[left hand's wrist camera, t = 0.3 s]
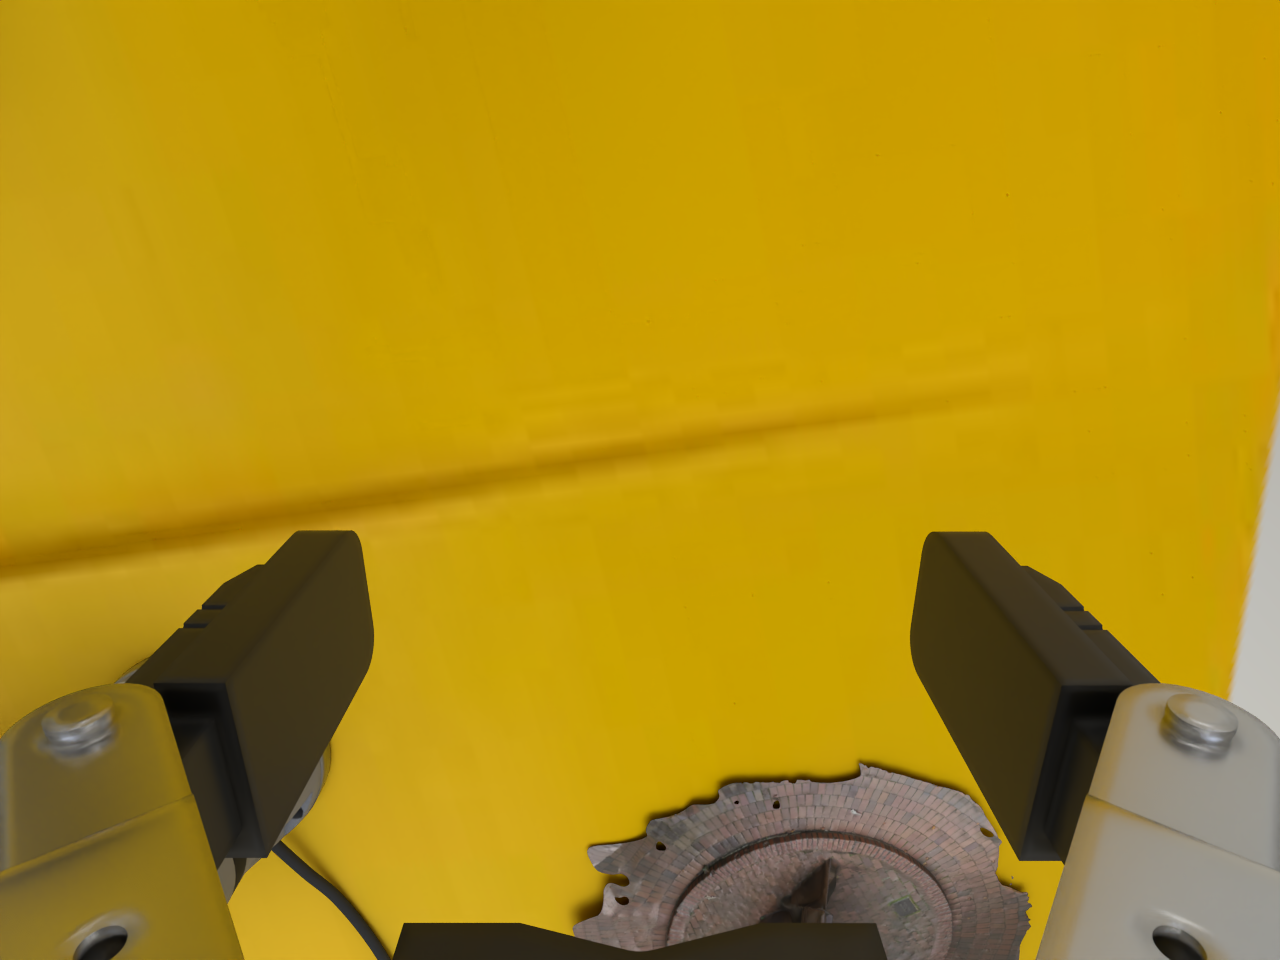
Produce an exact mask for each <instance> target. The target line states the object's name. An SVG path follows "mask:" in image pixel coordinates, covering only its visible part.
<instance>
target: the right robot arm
mask: <svg viewBox="0 0 1280 960" xmlns="http://www.w3.org/2000/svg"><path fill="white" fill-rule="evenodd" d="M148 659H149V658H147V659H145V660H143V661H141V662H139V663H138V664H136V665H135V666H133V667H132V668H130V669H129V670H128V671H127V672H125V673H124V674H123V675H122V676H121V677H120V678H119V679H118V680H117V681H116V682H115V683H114V684H117V683H125V682H126V681H127V680H128V679H129V678H130V677H131V676H132V675H133V674H134V673H135V672H136V671H137V670H138V669H139V668H140V667H141V666H142V665H143V664H144V663H145V662H146V661H147V660H148ZM330 761H331V751H330V743H329V744H328V746H327V747H326V749H325V751H324V753H323V755H322V757H321V759H320V760H319V762H318V764H317V766H316V768H315V770H314V772H313V773H312V775H311V777H310V779H309V781H308V783H307V784H306V786H305V788H304V790H303V792H302V794H301V796H300V797H299V799H298V801H297V803H296V805H295V807H294V809H293V810H292V812H291V814H290V816H289V818H288V820H287V822H286V823H285V825H284V827H283V829H282V831H281V833H280V835H279V836H278V838H277V840H276V842H275V844H274V846H273V848H272V849H271V850H272V851H273V852H274V853H275V854H276V855H277V856H278V857H280V858H281V859H282V860H283V861H284V862H285V863H286V864H287V865H289V866H290V867H291V868H292V869H293V870H294V871H295V872H297V873H298V874H299V875H300V876H301V877H302V878H304V879H305V880H306V881H307V882H309V883H310V884H311V885H312V886H314V887H315V888H316V889H318V890H319V891H320V892H322V893H323V894H324V895H325V896H326V897H328V898H329V899H330V900H331V901H332V902H333V903H334V904H335V905H336V906H337V908H338V909H339V910H340V911H341V912H342V913H343V914H344V915H345V916H346V918H347V919H348V920H349V921H350V922H351V924H352V925H353V926H354V927H355V928H356V930H357V931H358V932H359V934H360V935H361V936H362V938H363V939H364V940H365V942H366V943H367V945H368V946H369V948H370V949H371V950H372V952H373V954H374V955H375V957H376V958H377V960H391V959H390V957H389V956H388V954H387V953H386V951H385V949H384V948H383V946H382V945H381V943H380V942H379V940H378V939H377V937H376V936H375V934H374V933H373V932H372V930H371V929H370V927H369V926H368V925H367V923H366V922H365V921H364V919H363V918H362V917H361V916H360V914H359V913H358V912H357V911H356V910H355V908H354V907H353V906H352V905H351V904H350V903H349V901H348V900H347V899H346V898H345V897H344V896H343V895H342V894H341V893H340V892H339V891H338V890H337V889H336V888H335V887H334V886H333V885H332V884H331V883H329V882H328V881H327V880H326V879H324V878H323V877H322V876H320V875H319V874H318V873H317V872H315V871H314V870H313V869H312V868H311V867H309V866H308V865H307V864H306V863H305V862H304V861H303V860H301V859H300V858H299V857H298V856H297V855H296V854H295V853H294V852H293V851H292V850H290V849H289V848H288V847H287V846H286V845H285V844H284V843H283V842H282V841H281V839H282V838H283V837H284V836H285V835H286V834H287V833H289V832H290V831H291V830H292V829H293V828H294V827H295V826H297V825H298V824H299V822H300V821H301V820H302V819H303V818H304V817H305V816H306V815H307V814H308V812H309V811H310V809H311V808H312V807H313V805H314V803H315V801H316V799H317V798H318V796H319V794H320V792H321V790H322V788H323V786H324V784H325V781H326V779H327V776H328V773H329V769H330ZM260 859H261V858H225V859H224V860H223V862H222V864H221V865H220V867H219V869H218V870H217V872H218V875H219V879H220V882H221V885H222V888H223V892H224V895H225V898H226V901H227V904H228V902H229V900H230V898H231V896H232V894H233V892H234V891H235V889H236V887H237V885H238V883H239V882H240V880H241V878H242V877H243V875H244V873H245V872H246V871H248V870H249V869H250V868H251V867H252V866H253V865H254V864H255V863H256V862H257V861H258V860H260Z"/></svg>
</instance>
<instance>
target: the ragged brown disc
mask: <svg viewBox="0 0 1280 960" xmlns="http://www.w3.org/2000/svg"><path fill="white" fill-rule="evenodd" d="M859 766H860V770H861V776H859V777H858V778H855V779H852V780H848V781H843V782H835V783H817V782H811V781H810V780H806V781H804V780H797V782H796V783H789V782H788V780H785V781H782V782H780V783H774V782H769V783H764V782H762V783H760V782H755V783H752V784H750V783H747V782H746V783H745V782H744V783H743V784H742V783H733V784H729V785H727V786H724V787H722V788H721V789H719V790H718V792H719V796H720V797H719V799H718V800H717V801H716V802H715V803H714V804H709V805H691V806H689V807H688V808H687V809H686V810H684V811H682V812H680V813H678V814H675V815H672V816H669V817H665V818H660V819H655V820H652V821H650V823H649V824H648V826H647V828H646V833H647V837H645V838H643V839H641V840H637V841H633V842H628V843H621V844H613V845H600V846H593V847H590V848H589V849H588V851H587V853H588V856H589V858H590V860H591V862H592V864H593V866H594V867H595V868H596V870H598V871H600V872H602V873H606V874H624V875H625V876H627V877H628V879H629V885H628V886H625V887H621V886H619V885H616V884H614V883H609V884H607V885H606V886H605V888H604V901H603V907H602V910H601V912H600V914H599V915H598V916H595V917H593V918H590V919H587V920H585V921H582V922H580V923H578V924H576V925H574V927H573V932H574V935H575V937H578V938H582V939H586V940H590V941H594V942H598V943H602V944H606V945H610V946H614V947H618V948H622V949H625V950H631V951H649V950H654V949H658V948H662V947H666V946H670V945H674V944H678V943H682V942H686V941H690V940H694V939H698V938H702V937H706V936H710V935H714V934H718V933H722V932H726V931H730V930H734V929H738V928H742V927H746V926H750V925H754V924H758V923H876V924H877V927H878V931H879V934H880V937H881V940H882V943H883V947H884V950H885V953H886V956H887V960H1019V948H1020V943H1021V941H1022V939H1023V937H1024V936H1025V934H1026V931H1027V930H1028V929H1029V928H1030V927H1031V926H1030V924H1029V922H1028V921H1029V920H1030V919H1029V918H1028V916H1027V914H1026V910H1028V909H1029V908H1030V907H1032V905H1031V904H1030V903H1028V902H1027V901H1028V900H1029V897H1027V895H1028V893H1027V892H1019V891H1017V890H1015V889H1012V888H1010V887H1007V886H1003V885H1002V884H1001V883H1000V882H999V880H998V877H997V875H996V874H995V872H996V870H997V867H998V856H999V845H1000V844H1001V843H1002V842H1001V840H1000V839H998V836H997V834H996V832H995V830H994V829H993V827H992V825H991V824H990V822H989V821H988V819H987V818H986V816H985V815H984V812H983V810H982V808H981V807H980V806H979V805H977V804H976V803H975V802H974V801H973V800H972V799H971V798H970V796H969V795H965V794H963V793H962V792H959V791H955V790H952V789H948V788H945V787H940V786H939V787H937V786H933V785H935V784H931V783H927V782H923V781H921V780H916V779H913V778H910V777H906V776H904V775H899V774H895V773H888V772H887V771H885V770H882V769H879V768H875V767H870V768H867V766H866V765H865V766H864V765H863V764H861V763H859ZM825 789H826V790H825ZM737 800H738V801H739V804H734V802H735V801H737ZM777 800H778V801H779V803H780V808H779V809H774V808H773V803H774V802H775V801H777ZM981 827H982V828H985V829H987V830H989V831H991V832H992V833H993V834H994V837H986V836H985V835H983V834H982V832H981V831H980V828H981ZM658 841H660V842H662V843H663V844H664V845H665V846H666V850H664V851H659V850H657V849H656V844H657V842H658ZM1012 879H1013V877H1012ZM1010 885H1012V883H1011V884H1010ZM609 887H611V888H609ZM615 897H618V898H620V897H627V898H628V899H629V903H628V904H627V905H621V904H619V903H618V902H617V901H616V900H615Z"/></svg>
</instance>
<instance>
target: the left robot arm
mask: <svg viewBox="0 0 1280 960" xmlns="http://www.w3.org/2000/svg"><path fill="white" fill-rule="evenodd" d="M373 646H374V628H373V620H372V613H371V607H370V600H369V593H368V586H367V580H366V573H365V566H364V560H363V553H362V547H361V543H360V540H359V538H358V536H357V534H356V533H355V532H354V531H297V532H295V533H294V534H293V535H292V536H291V537H290V538H289V539H288V540H287V541H286V542H285V543H284V544H283V546H282V547H281V548H280V549H279V550H278V551H277V552H276V553H275V554H274V555H273V556H272V557H271V558H270V559H269V560H268V561H267V562H266V564H265V565H256V566H254V567H252V568H250V569H249V570H247V571H245V572H243V573H241V574H240V575H238V576H236V577H234V578H232V579H231V580H229V581H227V582H225V583H224V584H223V585H222V586H221V587H220V588H219V589H218V590H217V591H216V592H215V593H214V594H213V595H212V596H211V597H210V598H209V599H208V600H207V601H206V602H205V603H204V604H203V605H202V610H197V611H196V612H195V613H194V614H193V615H192V616H191V617H190V618H189V619H188V620H187V621H186V622H185V623H184V627H183V628H179V629H178V630H177V631H176V632H175V633H174V634H173V635H172V636H171V637H170V638H169V639H168V640H167V641H166V642H165V643H164V644H163V645H162V646H161V647H160V648H159V649H158V650H157V651H156V652H155V653H154V654H153V655H152V656H151V657H150V658H149V659H148V660H147V661H146V662H145V663H144V664H143V665H142V666H141V667H140V668H139V669H138V670H137V671H136V672H135V673H134V674H133V675H132V676H131V677H130V678H129V679H128V680H127V681H126V682H125V683H117V684H108V685H102V686H97V687H92V688H88V689H84V690H81V691H77V692H74V693H71V694H69V695H66V696H63V697H61V698H58V699H56V700H54V701H51V702H49V703H47V704H45V705H43V706H42V707H40V708H38V709H36V710H34V711H33V712H31V713H30V714H28V715H26V716H25V717H23V718H22V719H21V720H19V721H18V722H17V723H15V724H14V725H13V726H12V727H11V728H10V729H9V730H8V731H7V732H6V733H5V734H4V735H3V736H2V738H1V739H0V960H244V957H243V953H242V950H241V947H240V944H239V940H238V937H237V934H236V931H235V927H234V924H233V921H232V918H231V914H230V911H229V908H228V905H227V901H226V898H225V895H224V892H223V888H222V885H221V882H220V879H219V875H218V872H217V870H218V869H219V867H220V865H221V864H222V862H223V860H224V859H225V858H267V857H268V855H269V853H270V851H271V849H272V848H273V846H274V844H275V842H276V840H277V838H278V836H279V835H280V833H281V831H282V829H283V827H284V825H285V823H286V822H287V820H288V818H289V816H290V814H291V812H292V810H293V809H294V807H295V805H296V803H297V801H298V799H299V797H300V796H301V794H302V792H303V790H304V788H305V786H306V784H307V783H308V781H309V779H310V777H311V775H312V773H313V772H314V770H315V768H316V766H317V764H318V762H319V760H320V759H321V757H322V755H323V753H324V751H325V749H326V747H327V746H328V744H329V742H330V740H331V738H332V736H333V734H334V733H335V731H336V729H337V727H338V725H339V723H340V721H341V720H342V718H343V716H344V714H345V712H346V710H347V708H348V707H349V705H350V703H351V701H352V699H353V697H354V696H355V694H356V692H357V690H358V688H359V686H360V684H361V683H362V681H363V679H364V677H365V675H366V673H367V671H368V669H369V666H370V663H371V659H372V654H373ZM910 646H911V655H912V660H913V664H914V667H915V670H916V672H917V674H918V676H919V678H920V680H921V682H922V684H923V685H924V687H925V689H926V691H927V693H928V695H929V696H930V698H931V700H932V702H933V704H934V706H935V707H936V709H937V711H938V713H939V715H940V717H941V718H942V720H943V722H944V724H945V726H946V728H947V729H948V731H949V733H950V735H951V737H952V739H953V740H954V742H955V744H956V746H957V748H958V750H959V751H960V753H961V755H962V757H963V759H964V761H965V762H966V764H967V766H968V768H969V770H970V771H971V773H972V775H973V777H974V779H975V781H976V782H977V784H978V786H979V788H980V790H981V792H982V793H983V795H984V797H985V799H986V801H987V803H988V804H989V806H990V808H991V810H992V812H993V814H994V815H995V817H996V819H997V821H998V823H999V825H1000V826H1001V828H1002V830H1003V832H1004V834H1005V836H1006V837H1007V839H1008V841H1009V843H1010V845H1011V847H1012V848H1013V850H1014V852H1015V854H1016V856H1017V858H1018V859H1019V861H1062V862H1063V864H1064V865H1065V866H1064V869H1063V872H1062V875H1061V879H1060V882H1059V885H1058V888H1057V892H1056V895H1055V898H1054V901H1053V905H1052V908H1051V911H1050V914H1049V918H1048V921H1047V924H1046V927H1045V931H1044V934H1043V937H1042V940H1041V944H1040V947H1039V950H1038V953H1037V957H1036V960H1280V739H1279V738H1278V736H1277V735H1276V734H1275V733H1274V732H1273V731H1272V730H1271V729H1270V728H1269V727H1268V726H1267V725H1266V724H1265V723H1263V722H1262V721H1261V720H1259V719H1258V718H1257V717H1255V716H1254V715H1252V714H1250V713H1249V712H1247V711H1246V710H1244V709H1242V708H1240V707H1238V706H1237V705H1235V704H1233V703H1231V702H1229V701H1226V700H1224V699H1222V698H1219V697H1217V696H1214V695H1211V694H1209V693H1206V692H1203V691H1199V690H1196V689H1192V688H1188V687H1183V686H1178V685H1172V684H1163V683H1160V682H1159V681H1158V680H1157V679H1156V678H1155V677H1154V676H1153V675H1152V674H1151V673H1150V672H1149V671H1148V670H1147V669H1146V668H1145V667H1144V666H1143V665H1142V664H1141V663H1140V662H1139V661H1138V660H1137V659H1136V658H1135V657H1134V656H1133V655H1132V654H1131V653H1130V652H1129V651H1128V650H1127V649H1126V648H1125V647H1124V646H1123V645H1122V644H1121V643H1120V642H1119V641H1118V640H1117V639H1116V638H1115V637H1114V636H1113V635H1112V634H1111V633H1110V632H1109V631H1108V630H1103V629H1102V624H1101V623H1100V622H1099V621H1097V620H1096V619H1095V618H1094V617H1093V616H1092V615H1091V614H1090V613H1089V612H1088V611H1084V607H1083V606H1082V605H1081V604H1080V603H1079V602H1078V601H1077V600H1076V599H1075V598H1074V597H1073V596H1072V595H1071V594H1070V593H1069V592H1068V591H1067V590H1066V589H1065V588H1064V587H1063V586H1062V585H1061V584H1059V583H1057V582H1056V581H1054V580H1052V579H1050V578H1048V577H1047V576H1045V575H1043V574H1041V573H1039V572H1038V571H1036V570H1034V569H1032V568H1030V567H1028V566H1020V565H1019V564H1018V563H1017V562H1016V560H1015V559H1014V558H1013V557H1012V556H1011V555H1010V554H1009V553H1008V552H1007V551H1006V550H1005V549H1004V548H1003V547H1002V546H1001V545H1000V544H999V543H998V542H997V541H996V539H995V538H994V537H993V536H992V535H991V534H989V533H988V532H931V533H930V534H928V536H927V537H926V539H925V542H924V545H923V550H922V556H921V562H920V569H919V576H918V582H917V589H916V595H915V602H914V609H913V615H912V622H911V630H910ZM393 960H887V956H886V953H885V950H884V947H883V943H882V940H881V937H880V934H879V931H878V927H877V924H876V923H758V924H754V925H750V926H746V927H742V928H738V929H734V930H730V931H726V932H722V933H718V934H714V935H710V936H706V937H702V938H698V939H694V940H690V941H686V942H682V943H678V944H674V945H670V946H666V947H662V948H658V949H654V950H649V951H631V950H625V949H622V948H618V947H614V946H610V945H606V944H602V943H598V942H594V941H590V940H586V939H582V938H578V937H574V936H570V935H566V934H562V933H558V932H554V931H550V930H546V929H542V928H538V927H534V926H530V925H526V924H522V923H404V924H403V927H402V931H401V934H400V937H399V940H398V943H397V947H396V950H395V953H394V956H393Z"/></svg>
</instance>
